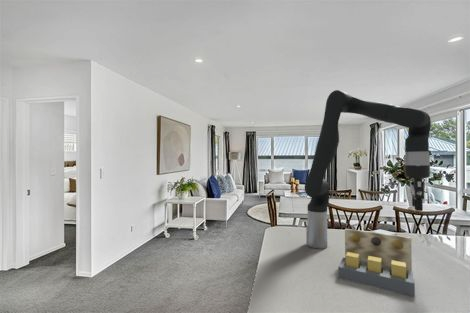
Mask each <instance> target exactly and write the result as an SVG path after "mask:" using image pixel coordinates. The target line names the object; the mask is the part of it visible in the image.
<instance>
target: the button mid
mask: <svg viewBox="0 0 470 313" xmlns="http://www.w3.org/2000/svg"><path fill="white" fill-rule="evenodd" d="M368 270H369V271H373V272H378V273H382V263H381V258H378V257H372V256H368Z"/></svg>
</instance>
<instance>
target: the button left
mask: <svg viewBox="0 0 470 313" xmlns="http://www.w3.org/2000/svg"><path fill="white" fill-rule="evenodd" d="M346 266H350V267H355V268H359V254H356V253H351V252H347V254H346Z"/></svg>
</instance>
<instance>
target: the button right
mask: <svg viewBox="0 0 470 313" xmlns="http://www.w3.org/2000/svg"><path fill="white" fill-rule="evenodd" d="M391 268H392V276H397V277H401V278H406V263H405V262H399V261H394V260H392V262H391Z"/></svg>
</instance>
